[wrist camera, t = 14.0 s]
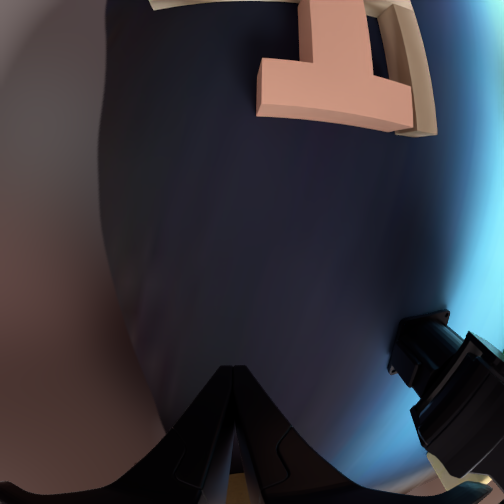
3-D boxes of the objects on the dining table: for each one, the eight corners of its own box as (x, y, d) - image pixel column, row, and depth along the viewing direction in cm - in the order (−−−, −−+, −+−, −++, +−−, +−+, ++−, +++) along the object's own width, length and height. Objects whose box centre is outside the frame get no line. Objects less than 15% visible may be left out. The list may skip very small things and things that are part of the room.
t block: (378, 26, 15) (398, 9, 12) (387, 132, 18) (413, 127, 14) (258, 3, 14) (263, -21, 11) (256, 116, 17) (261, 103, 14)
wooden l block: (391, 7, 14) (407, -6, 11) (414, 137, 18) (437, 134, 15) (155, -6, 13) (147, -26, 10) (148, 135, 17) (134, 129, 14)
